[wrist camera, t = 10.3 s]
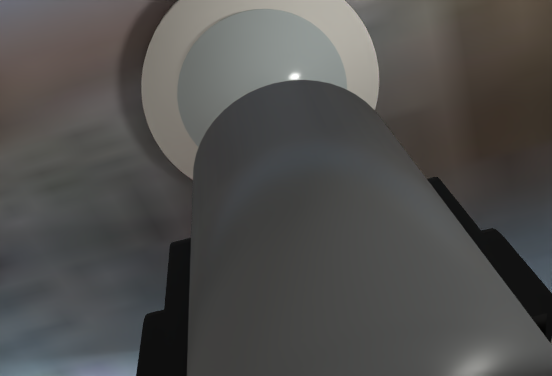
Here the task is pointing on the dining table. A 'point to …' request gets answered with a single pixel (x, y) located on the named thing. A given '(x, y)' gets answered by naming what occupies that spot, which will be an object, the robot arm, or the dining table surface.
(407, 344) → the plug
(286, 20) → the saucer
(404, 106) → the dining table surface
